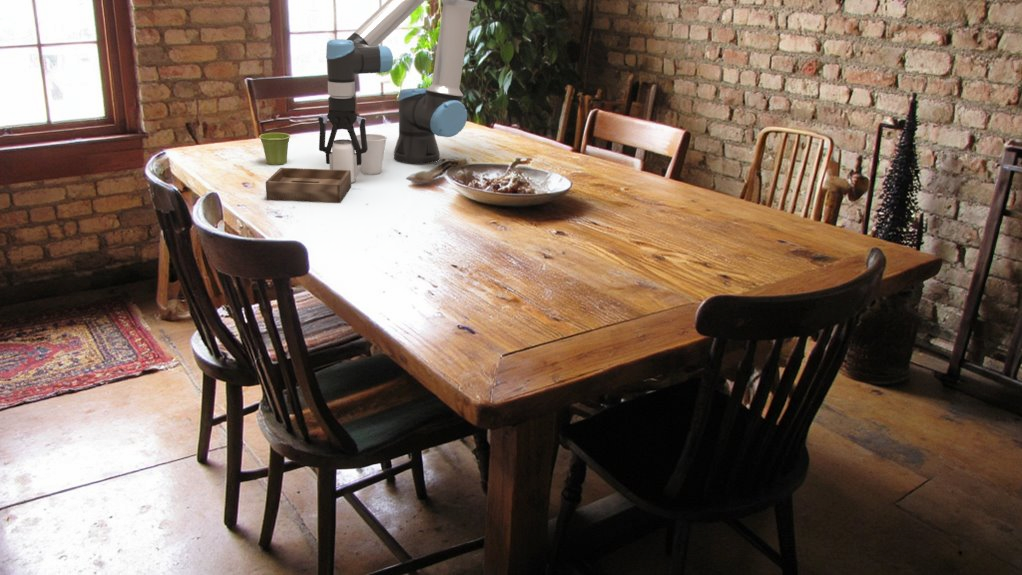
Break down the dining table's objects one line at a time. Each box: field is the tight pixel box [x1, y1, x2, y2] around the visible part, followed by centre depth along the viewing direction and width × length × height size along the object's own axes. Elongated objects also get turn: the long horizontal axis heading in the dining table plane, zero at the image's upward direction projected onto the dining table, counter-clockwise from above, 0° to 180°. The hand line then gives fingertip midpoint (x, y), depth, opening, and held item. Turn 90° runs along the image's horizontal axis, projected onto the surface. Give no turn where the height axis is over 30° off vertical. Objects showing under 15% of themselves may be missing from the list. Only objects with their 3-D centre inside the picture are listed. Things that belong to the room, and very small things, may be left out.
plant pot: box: [258, 132, 291, 166], centre depth 265 cm, size 9×9×9 cm
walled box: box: [265, 167, 352, 204], centre depth 236 cm, size 20×16×5 cm
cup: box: [356, 133, 388, 176], centre depth 259 cm, size 10×10×11 cm
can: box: [331, 138, 356, 184], centre depth 247 cm, size 6×6×12 cm
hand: (344, 175), depth 249 cm, fingers closed on can, 6 cm apart
